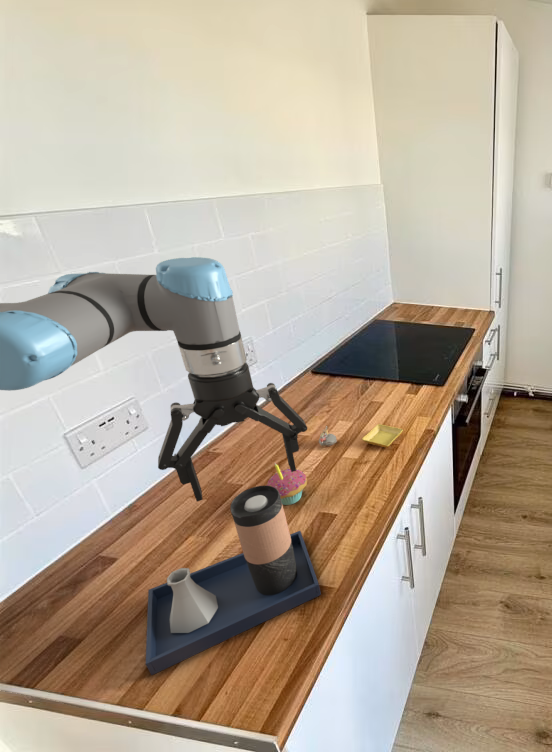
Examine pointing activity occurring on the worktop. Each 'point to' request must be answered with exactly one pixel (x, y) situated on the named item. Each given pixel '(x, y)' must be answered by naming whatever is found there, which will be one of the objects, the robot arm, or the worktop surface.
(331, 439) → the figurine
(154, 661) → the tray
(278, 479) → the cupcake
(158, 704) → the worktop surface
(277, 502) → the travel mug
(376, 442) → the saucer
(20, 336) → the robot arm
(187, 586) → the flask
